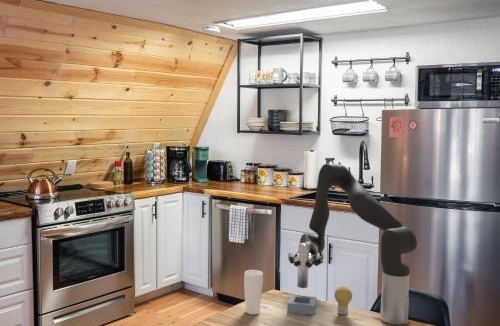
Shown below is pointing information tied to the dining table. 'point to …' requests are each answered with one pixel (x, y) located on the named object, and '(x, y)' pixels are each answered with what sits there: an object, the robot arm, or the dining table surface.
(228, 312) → the dining table surface
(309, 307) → the blue square frame
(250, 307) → the drinking glass
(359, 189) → the robot arm
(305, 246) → the steel pin
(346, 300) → the light bulb
